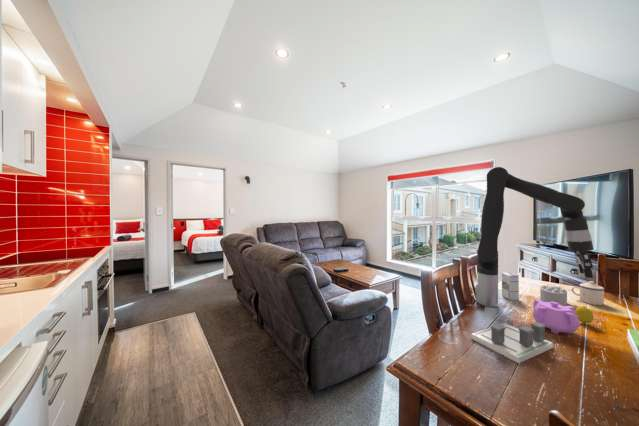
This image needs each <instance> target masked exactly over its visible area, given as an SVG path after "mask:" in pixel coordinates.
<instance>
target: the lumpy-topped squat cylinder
mask: <svg viewBox="0 0 639 426" xmlns="http://www.w3.org/2000/svg"><path fill="white" fill-rule="evenodd" d="M539 294H540V295H539V300H540V301H542V302H557V303H559V305H562V306H568V290H567V289H565V288H562V287H560V286H556V285H550V284H547V285H541V286H540V289H539Z"/></svg>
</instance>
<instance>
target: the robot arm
mask: <svg viewBox="0 0 639 426" xmlns="http://www.w3.org/2000/svg"><path fill="white" fill-rule="evenodd" d="M505 189H510V190H513V191H516V192H518V193H520V194H523V195H525V196H527V197H530V198H532V199H535V200H537V201H540V202H541V203H545V204H548V205H552V206H554V207H556V208H559V210H560V213H561V216H562V218H563V223H564V228H565V238H566V242H567V248H568V250H569V251H571V252H572V251H573V252H574V258H575V263H576V264H577V265H578V271H579V273H580V274H584V277H585V278H587V279H589V278H590V279H592V278H594V276H593V271H592V269H594V266H593V263H592V262H593V261H592V257H591V254H589V253H588V251H589V252H591V251H593V250H594V245H593V240H592V235H591V232H590V230H589V226H588V222H587V219H586V218H585V217H584V214H583V213H584V212H583V209H584V208H585V206H586V203H585V201H584V200H583V199H582V198H580V197H578V196H576V195H572V194H568V193H566V192H565V193H564V192H561V191H558V190H556V189H554V188H551V187H548V186H545V185H542V184H539V183H536V182H532V181H528V180H524V179H521V178H520V177H519V178H518V177H516V176H514V175H512V174H510V173H509V172H508V170H507V169H505V168H504V167H502V166H496V167H492V168H491V169H490V170H489V171H488V172H487V173H486V194H485V198H484V201H483V207H482V212H481V220H480V221H481V223H480V230H481V231H480V232H481V233H480V240H479V243H478V248H477V250H476V254H477V268H476V269H477V271H476V272H477V273H476V274H477V279H476V280H477V284H475V302H477V303H478V304H479V305H480V306H481V305H482V306H484V307H489V308H498V306H499V250H498V242H499V241H498V240H499V235H500V232H501V229H502V224H503V220H504V211H505V199H504V195H505Z"/></svg>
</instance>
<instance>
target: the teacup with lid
mask: <svg viewBox="0 0 639 426" xmlns="http://www.w3.org/2000/svg"><path fill="white" fill-rule="evenodd" d="M574 289H579V294H578V293H576V292H575V290H574ZM605 290H606V289H605V288H604V287H603V286H600V285H598V284H596V283H595V281H593V280H592V281H590V280H589V281H588V282H584V283H580V284H578V286H573V287H571V292H572V294H574V296H579V300H580V301H581V302H583V303H586V304H588V305H589V304H590V305H594V306H603V305H604V304H605Z"/></svg>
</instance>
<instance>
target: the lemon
mask: <svg viewBox="0 0 639 426" xmlns="http://www.w3.org/2000/svg"><path fill="white" fill-rule="evenodd" d="M574 310H575V315H577V316H578V319H579V322H581V323H582V325H583V324H584V325H586V324H590V323H592V322H593V321H594V314H593V311H592V310H591V309H590V308H588V307H586V306H584V305H583V306H578V307H577V308H575V309H574Z"/></svg>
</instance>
